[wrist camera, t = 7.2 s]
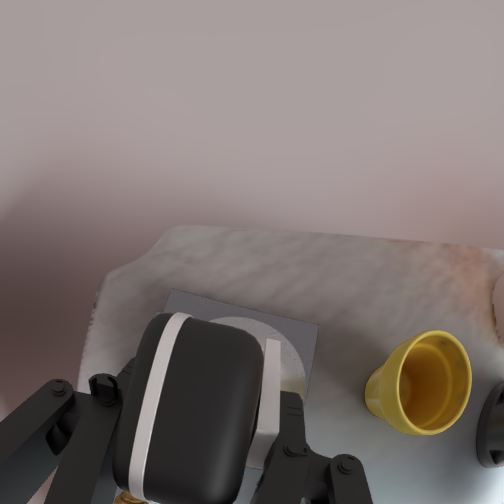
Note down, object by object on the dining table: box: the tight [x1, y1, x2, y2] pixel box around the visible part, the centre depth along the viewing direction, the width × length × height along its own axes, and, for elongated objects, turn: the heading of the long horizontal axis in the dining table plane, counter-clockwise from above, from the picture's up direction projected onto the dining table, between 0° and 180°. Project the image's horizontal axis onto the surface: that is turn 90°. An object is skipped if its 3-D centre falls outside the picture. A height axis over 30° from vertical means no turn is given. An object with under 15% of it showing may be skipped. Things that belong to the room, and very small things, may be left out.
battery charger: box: [112, 312, 264, 504], centre depth 11 cm, size 7×4×11 cm, turn 170°
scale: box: [154, 288, 319, 470], centre depth 25 cm, size 16×16×5 cm
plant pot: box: [365, 330, 472, 435], centre depth 23 cm, size 10×10×10 cm
